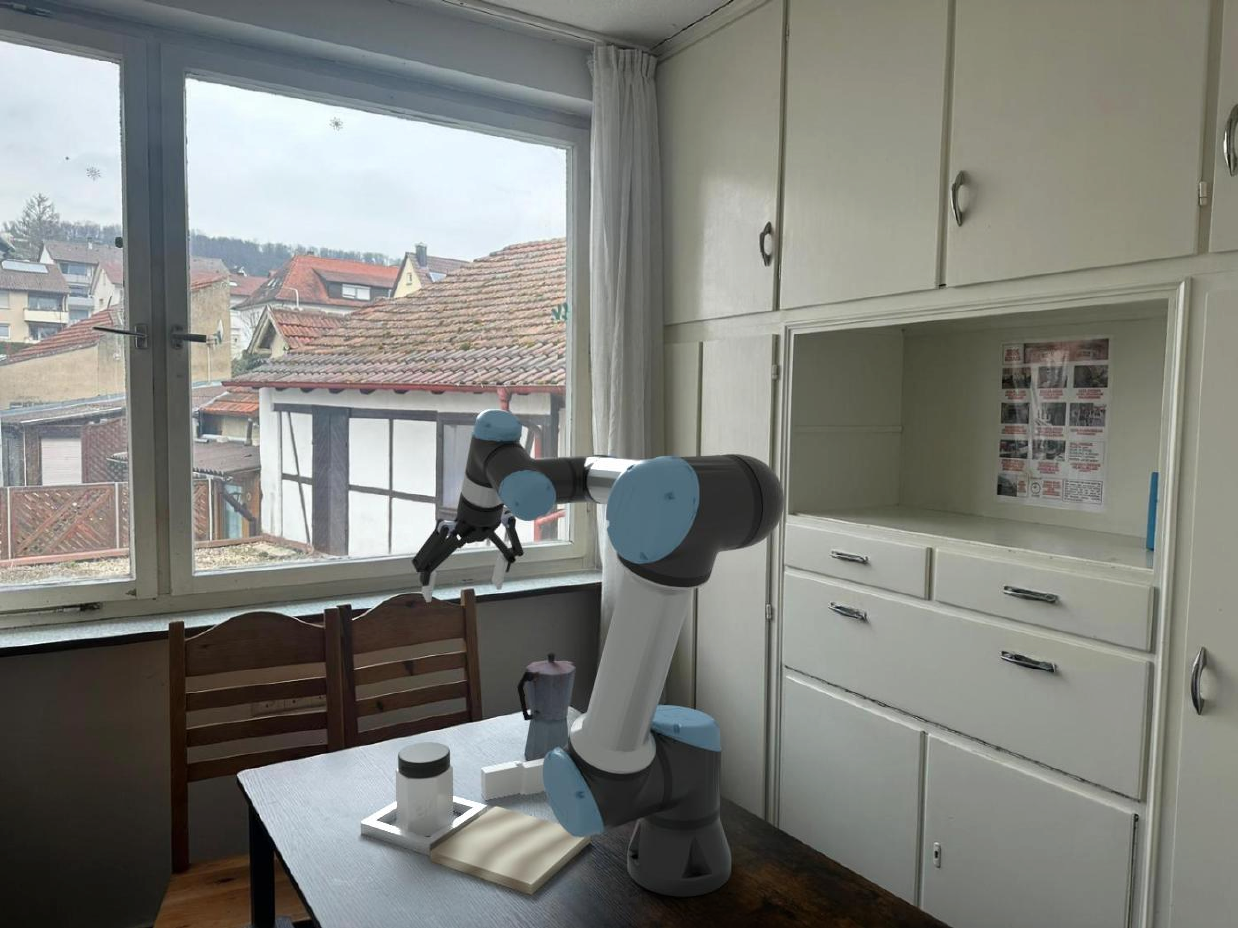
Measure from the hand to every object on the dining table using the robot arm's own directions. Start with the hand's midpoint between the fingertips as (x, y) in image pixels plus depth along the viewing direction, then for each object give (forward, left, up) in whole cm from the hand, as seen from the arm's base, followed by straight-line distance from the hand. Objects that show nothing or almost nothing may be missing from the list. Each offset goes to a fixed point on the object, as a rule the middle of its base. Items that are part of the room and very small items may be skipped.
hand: (462, 590), depth 154 cm
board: (-24, +18, -34) cm, 45 cm away
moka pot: (-10, -13, -34) cm, 37 cm away
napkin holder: (-14, +2, -34) cm, 37 cm away
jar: (-7, +18, -34) cm, 39 cm away
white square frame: (-7, +18, -34) cm, 39 cm away
